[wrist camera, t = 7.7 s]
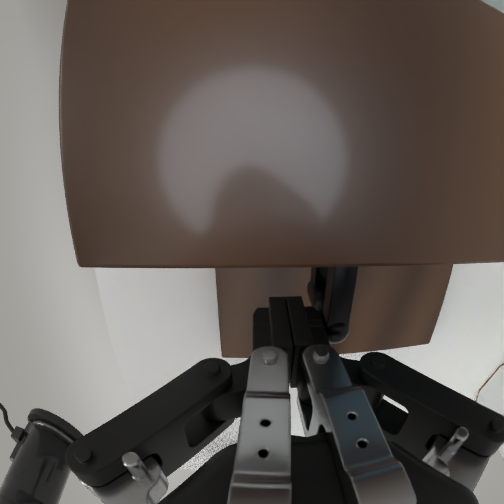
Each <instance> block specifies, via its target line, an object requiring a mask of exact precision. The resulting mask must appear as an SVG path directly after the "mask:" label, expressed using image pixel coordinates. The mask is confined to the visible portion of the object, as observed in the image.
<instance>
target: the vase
mask: <svg viewBox="0 0 504 504" xmlns="http://www.w3.org/2000/svg"><path fill="white" fill-rule="evenodd" d="M481 1H483V2H485V3H487V4H489V5H490V6H492V7H494V8H496V9H497V10H499V11H501V12H502V13H504V0H481Z"/></svg>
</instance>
